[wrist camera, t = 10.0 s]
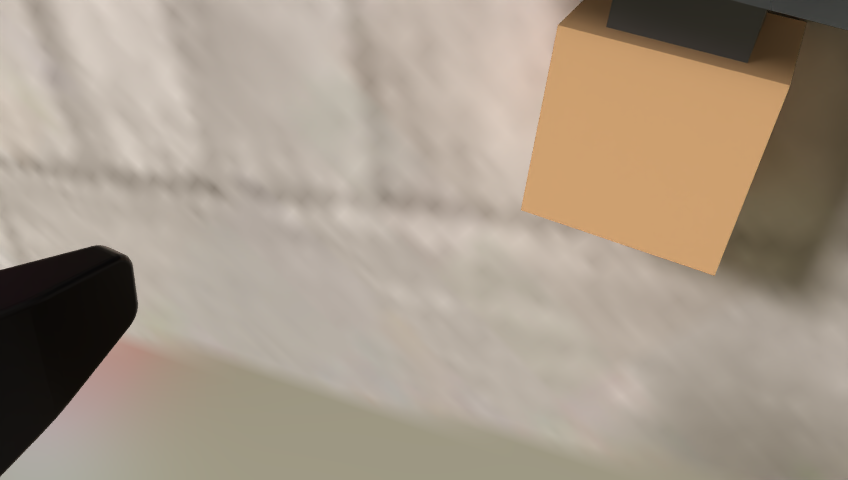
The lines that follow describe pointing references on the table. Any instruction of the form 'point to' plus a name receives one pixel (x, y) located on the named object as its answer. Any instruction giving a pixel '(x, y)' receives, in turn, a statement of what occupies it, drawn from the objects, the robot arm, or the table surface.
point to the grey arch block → (809, 10)
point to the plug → (659, 121)
